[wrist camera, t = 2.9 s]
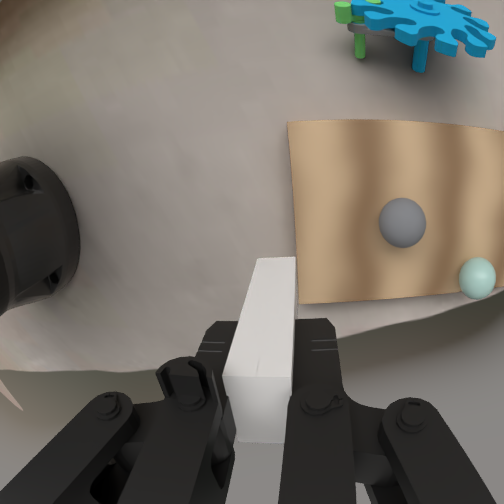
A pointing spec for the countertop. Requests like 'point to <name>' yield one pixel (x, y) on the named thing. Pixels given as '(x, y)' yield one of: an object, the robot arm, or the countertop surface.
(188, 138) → the countertop surface
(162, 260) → the countertop surface
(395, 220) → the grey ball
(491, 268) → the teal ball
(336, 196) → the board
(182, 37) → the countertop surface
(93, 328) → the countertop surface
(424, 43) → the gear
